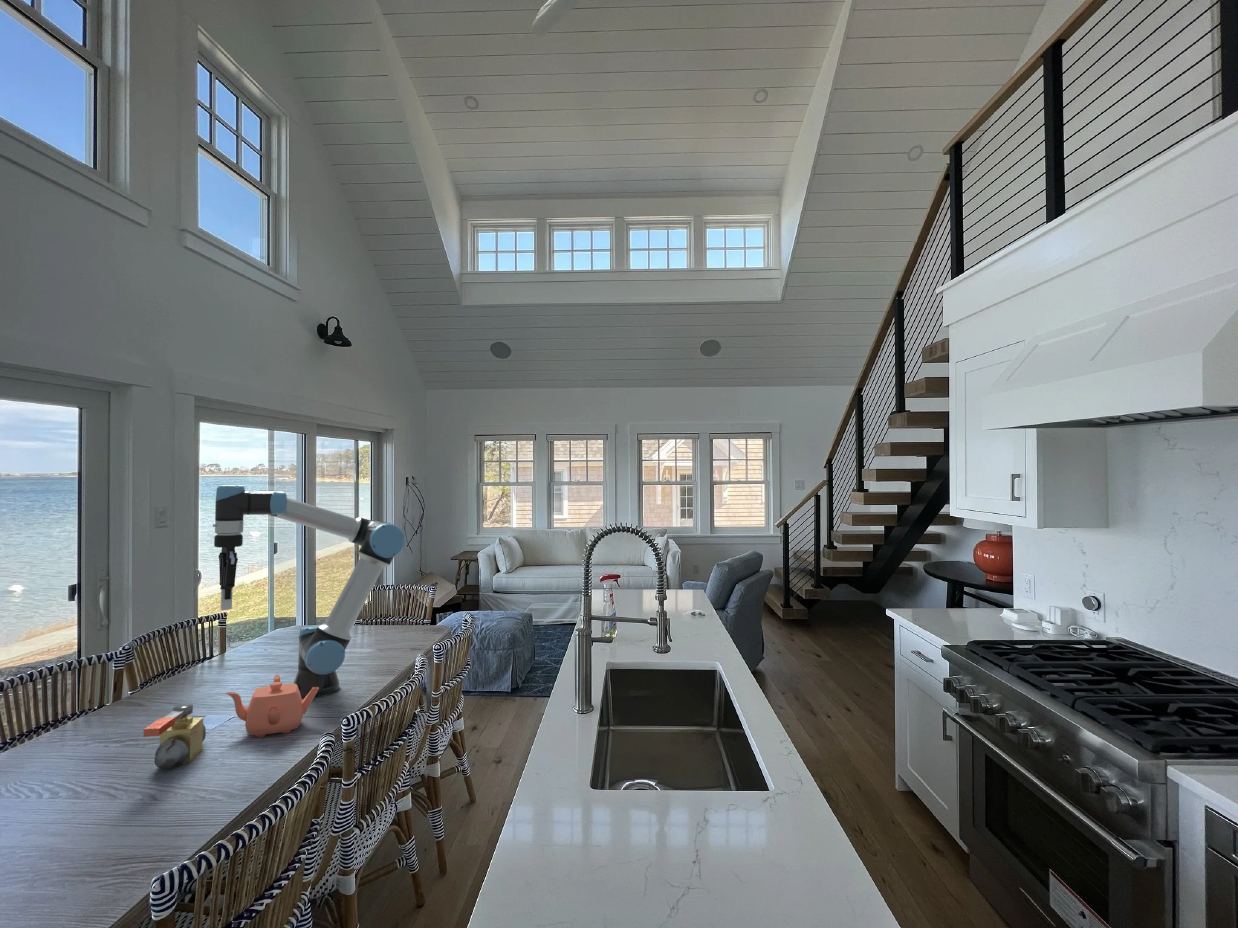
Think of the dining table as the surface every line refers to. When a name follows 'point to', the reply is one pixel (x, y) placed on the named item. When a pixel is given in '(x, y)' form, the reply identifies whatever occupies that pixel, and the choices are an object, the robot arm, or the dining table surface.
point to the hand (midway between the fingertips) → (226, 609)
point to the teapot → (273, 708)
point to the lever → (168, 720)
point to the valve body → (180, 743)
